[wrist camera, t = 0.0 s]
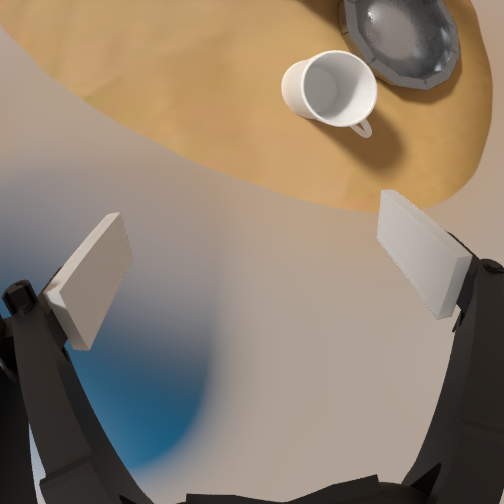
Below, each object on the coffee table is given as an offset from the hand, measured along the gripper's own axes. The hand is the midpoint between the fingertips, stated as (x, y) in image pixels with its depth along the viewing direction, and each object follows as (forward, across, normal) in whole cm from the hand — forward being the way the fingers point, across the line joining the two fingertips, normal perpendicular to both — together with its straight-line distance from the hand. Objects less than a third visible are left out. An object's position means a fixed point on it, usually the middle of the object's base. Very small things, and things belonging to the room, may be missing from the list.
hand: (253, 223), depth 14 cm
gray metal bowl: (+28, +24, +17) cm, 40 cm away
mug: (+28, +11, +5) cm, 31 cm away
